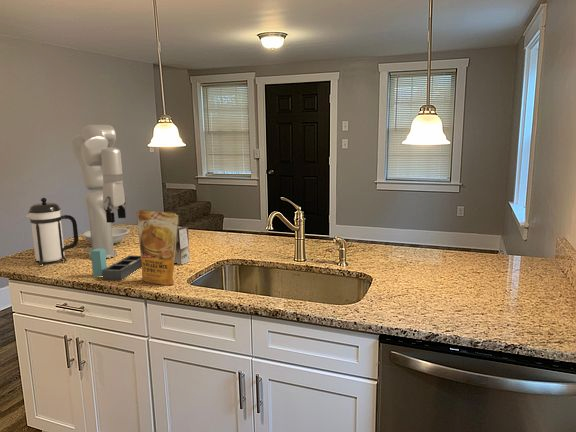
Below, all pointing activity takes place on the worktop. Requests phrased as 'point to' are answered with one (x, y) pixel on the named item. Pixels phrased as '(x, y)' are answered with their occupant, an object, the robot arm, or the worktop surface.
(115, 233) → the soup bowl
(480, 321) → the worktop surface
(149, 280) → the pancake mix bag
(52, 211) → the coffee press
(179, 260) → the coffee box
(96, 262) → the peg
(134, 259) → the rail
